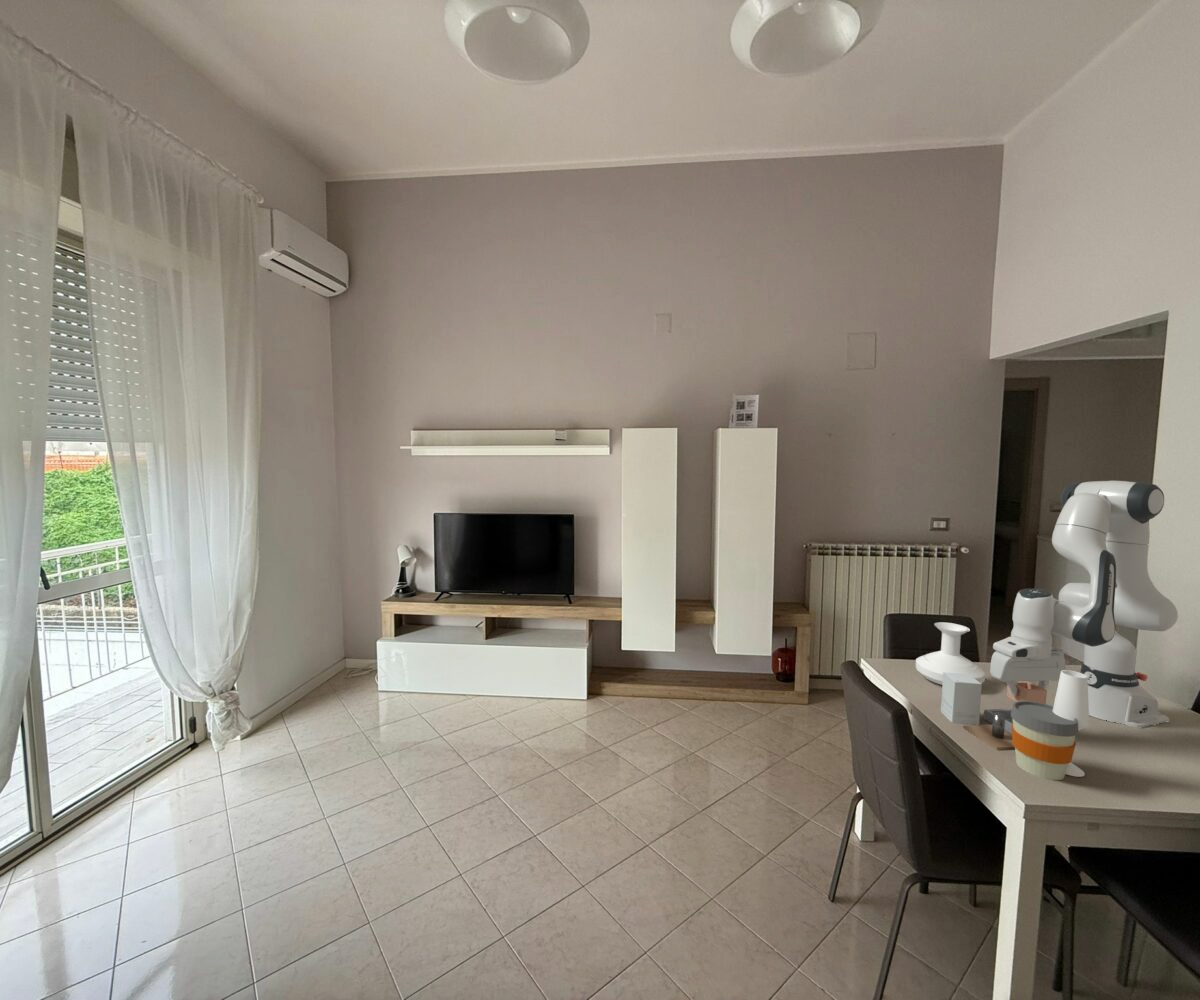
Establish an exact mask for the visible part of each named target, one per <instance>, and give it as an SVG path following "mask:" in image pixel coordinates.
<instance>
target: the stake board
mask: <svg viewBox="0 0 1200 1000" xmlns="http://www.w3.org/2000/svg"><path fill="white" fill-rule="evenodd" d="M992 725H993V724H992V723H991V724H979V725H971V724H967V725H963V726H962V729H963V728H964V729H965V730H964V729H963V730H964V731H966V730H967V731H968V732H967V731H966V732H967V733H969V732H970V733H969V734H971V735H972V734H973V736H974V737H975V736H976V737H975V738H977V739H978V738H979V739H978V740H980V741H982V742H984V743H985V744H986V745H988V746H989V745H990V747H991V748H993V749H995V750H996V751H1006V750H1015V747H1014V746H1013V742H1012V734H1011V733H1009V732H1008V731H1006V730H1004V739H998V738H995V737H993V736H992Z"/></svg>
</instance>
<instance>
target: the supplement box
mask: <svg viewBox="0 0 1200 1000" xmlns="http://www.w3.org/2000/svg"><path fill="white" fill-rule="evenodd" d="M941 686H942V688H941V702H940V703H941V705H940V712H941V714H943V715H944V716H945V718H946V719H948V721H949V722H951V723H952V722H953V723H952V724H961V723H965V724H964V725H971V724H976V725H980V717H981V716H980V714H981V700H982V686H983V683H982V684H981V683H980V682H978V681H977V680H976V679H974V678H973V677H972V676H971V675H969V674H960V673H945V672H943V684H942V685H941Z"/></svg>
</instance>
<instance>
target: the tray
mask: <svg viewBox="0 0 1200 1000" xmlns="http://www.w3.org/2000/svg"><path fill="white" fill-rule="evenodd" d="M1011 711H1012V708H994V709H991V708H989V709H984V711H983V719H984V720H985V721H987V722H989V723H990V724H991V725H992V724H993V713H994V712H998V713H1002V714H1004V715H1005V729H1004V730H1006V731H1008V732H1009V733H1011V734H1012V730H1011V725H1012V724H1013V718H1012V717H1011Z"/></svg>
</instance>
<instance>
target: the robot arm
mask: <svg viewBox="0 0 1200 1000" xmlns="http://www.w3.org/2000/svg"><path fill="white" fill-rule="evenodd" d="M1060 504H1061V506H1062V509H1061V511H1060V513H1059V516H1058V517H1057V519H1056V523H1055V525H1054V529H1053V532H1052V536H1051V543H1052V546H1053V548H1054V549H1055V550H1056V552H1057V553H1058V555H1061V556H1062V557H1064V558H1065V559H1067V560H1068V561H1070V562H1073V563H1074V564H1077V565H1078V566H1081V567H1082V568H1084V569H1085V570H1086V571H1087V572H1088V574H1089V577H1090V582H1069V583H1067V584H1065V585H1064V586H1063V587H1062V588H1061V589H1060V590H1059V593H1058V599H1056V598H1054V596H1053V594H1052V592H1050V591H1049V590H1045V589H1042V588H1023V589H1020V590H1019V591H1018V592H1017V593H1016V597H1015V599H1014V602H1013V603H1014V604H1013V608H1012V621H1013V622H1012V623H1013V628H1011V629H1012V630H1011V632H1010V636H1008V637H1006V638H1003V639H1001V640H999V641H996V642H994V643H993V645H992V649H993V650H995V651H994V652H993V653H992V654H991V655H992V656H991V660H990V667H989V671H990V675H991V677H992V678H994V679H995V680H998V681H1000V682H1003V683H1004V682H1005V683H1006V684H1007V685H1008V686H1009V688H1010V690H1009V693H1010V694H1011V695H1013V696H1019V695H1020V694H1019V693H1020V690H1018V689H1017V688H1016V686H1015V685H1017V682H1018V681H1028V682H1037V684H1036V685H1037V686H1039V687H1041V688H1043V689H1045V690H1046V688H1047V687H1048V685H1049V684H1050V682H1051V681H1057V682H1059V678H1060V673H1061V671H1062V670H1067V666H1066V658H1065V651H1064V650H1063V649H1062V648H1061V647H1059V646H1052V645H1053V637H1052V634H1053V635H1055V636H1057V637H1058V636H1059V637H1062V638H1066V639H1069V640H1073V641H1075V642H1078V643H1080V644H1083V647H1084V648H1083V660H1082V662H1081V664H1080V667H1079V668H1080V672H1079V673H1082V674H1084V675H1086V676H1087V680H1088V703H1089V717H1090V716H1091V717H1093V718H1096V719H1100V720H1103V721H1106V720H1107V722H1111V723H1114V722H1116V723H1115V724H1120V723H1121V724H1120V725H1124V724H1125V725H1124V726H1127V725H1128V726H1127V727H1131V726H1133V727H1132V728H1134V727H1137V728H1136V729H1140V728H1139V727H1144V726H1149V725H1153V726H1155V725H1154V724H1158V723H1162V722H1166V721H1170V718H1169V717H1168V716H1167V715H1166V714H1163V713H1161V712H1160V711H1159V702H1158V700H1157V698H1156V697H1155V696H1153V695H1152V694H1151V693H1150V692H1149V691H1147V690H1146V689H1145V688H1144V687H1142V686H1141V685H1140V682H1139V680H1141V681H1142V682H1146V681H1147V680H1148V675H1147V674H1145V673H1141V672H1136V671H1135V670H1136V661H1137V660H1136V659H1137V648H1136V647H1135V645H1134V644H1133V643H1132V642H1131V641H1130V640H1129V639H1127V638H1125V636H1122V635H1121V634H1119V633H1118V632H1117V630H1116V626H1117V625H1118V626H1120V627H1125V628H1130V629H1136V630H1141V631H1149V632H1165V631H1167V630H1170V629H1171V628H1173V627H1174V625H1175V624H1176V623H1177V621H1178V617H1179V614H1178V609H1177V607H1176V605H1175V604H1174V603H1173V602H1172V601H1171V599H1169V598H1168V597H1166V596H1165V595H1164V594H1162V592H1161V591H1159V590H1158V589H1157V588H1156V587H1155V585H1154V583H1153V582H1152V580H1151V577H1150V574H1149V571H1148V554H1149V546H1150V537H1151V536H1150V535H1151V534H1150V520H1151V519H1154V518H1155V517H1157V516H1158V515H1159V514H1160V513H1161V511H1162V510H1163V508H1164V505H1165V494H1164V492H1163V490H1162V489H1161V488H1160V487H1159V486H1158V485H1157V484H1153V483H1150V482H1143V481H1136V482H1135V481H1128V480H1127V481H1126V480H1097V481H1095V480H1094V481H1086V480H1081V481H1074V482H1071V483H1069V484H1068V485H1067V486H1065V487H1064V488H1063V490H1062V492H1061V496H1060ZM1158 725H1159V724H1158ZM1149 727H1150V726H1149ZM1144 728H1145V727H1144Z"/></svg>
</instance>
